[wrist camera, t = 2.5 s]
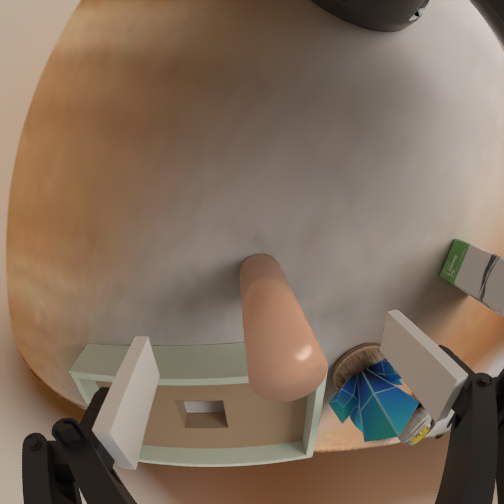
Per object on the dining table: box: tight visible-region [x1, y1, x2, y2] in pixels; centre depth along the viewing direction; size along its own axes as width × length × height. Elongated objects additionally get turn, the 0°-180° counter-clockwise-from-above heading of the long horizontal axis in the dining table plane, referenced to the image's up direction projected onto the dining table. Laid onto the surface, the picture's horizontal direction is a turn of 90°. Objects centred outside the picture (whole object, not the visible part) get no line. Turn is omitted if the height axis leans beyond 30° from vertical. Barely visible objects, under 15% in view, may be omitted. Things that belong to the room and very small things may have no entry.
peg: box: [239, 254, 328, 402], centre depth 18 cm, size 4×4×13 cm
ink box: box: [440, 239, 504, 317], centre depth 20 cm, size 9×5×12 cm, turn 67°
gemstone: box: [329, 343, 419, 442], centre depth 22 cm, size 7×9×12 cm
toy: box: [398, 405, 436, 446], centre depth 30 cm, size 12×5×15 cm
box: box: [69, 342, 328, 467], centre depth 25 cm, size 16×24×5 cm, turn 93°
